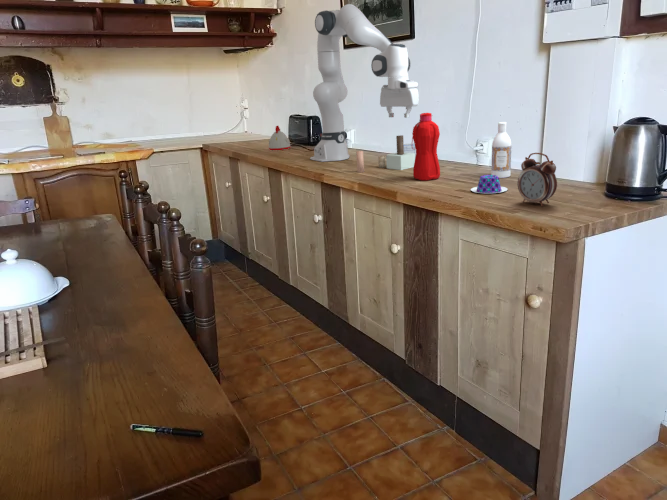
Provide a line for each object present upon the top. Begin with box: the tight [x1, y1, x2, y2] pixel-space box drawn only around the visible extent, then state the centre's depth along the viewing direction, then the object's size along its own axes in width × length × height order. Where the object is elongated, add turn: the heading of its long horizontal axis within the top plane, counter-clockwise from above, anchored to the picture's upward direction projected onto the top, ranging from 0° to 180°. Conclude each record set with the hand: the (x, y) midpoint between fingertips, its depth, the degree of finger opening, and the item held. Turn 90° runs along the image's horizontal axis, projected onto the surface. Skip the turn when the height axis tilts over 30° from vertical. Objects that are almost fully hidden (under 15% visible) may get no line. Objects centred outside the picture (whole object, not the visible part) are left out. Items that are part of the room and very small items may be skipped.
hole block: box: [385, 152, 415, 171], centre depth 230 cm, size 9×9×6 cm
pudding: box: [470, 174, 508, 195], centre depth 173 cm, size 12×12×5 cm
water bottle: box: [411, 112, 441, 182], centre depth 198 cm, size 9×11×25 cm
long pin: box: [395, 134, 405, 155], centre depth 229 cm, size 3×3×14 cm
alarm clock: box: [517, 152, 558, 207], centre depth 150 cm, size 11×5×15 cm, turn 33°
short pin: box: [377, 155, 386, 169], centre depth 234 cm, size 3×3×5 cm
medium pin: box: [356, 150, 365, 173], centre depth 226 cm, size 3×3×9 cm
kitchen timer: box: [268, 125, 292, 151], centre depth 330 cm, size 14×14×15 cm
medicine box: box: [403, 143, 416, 157], centre depth 241 cm, size 8×4×9 cm, turn 84°
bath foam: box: [490, 121, 513, 179], centre depth 192 cm, size 7×7×20 cm
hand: (399, 117), depth 224 cm, fingers open, 8 cm apart
